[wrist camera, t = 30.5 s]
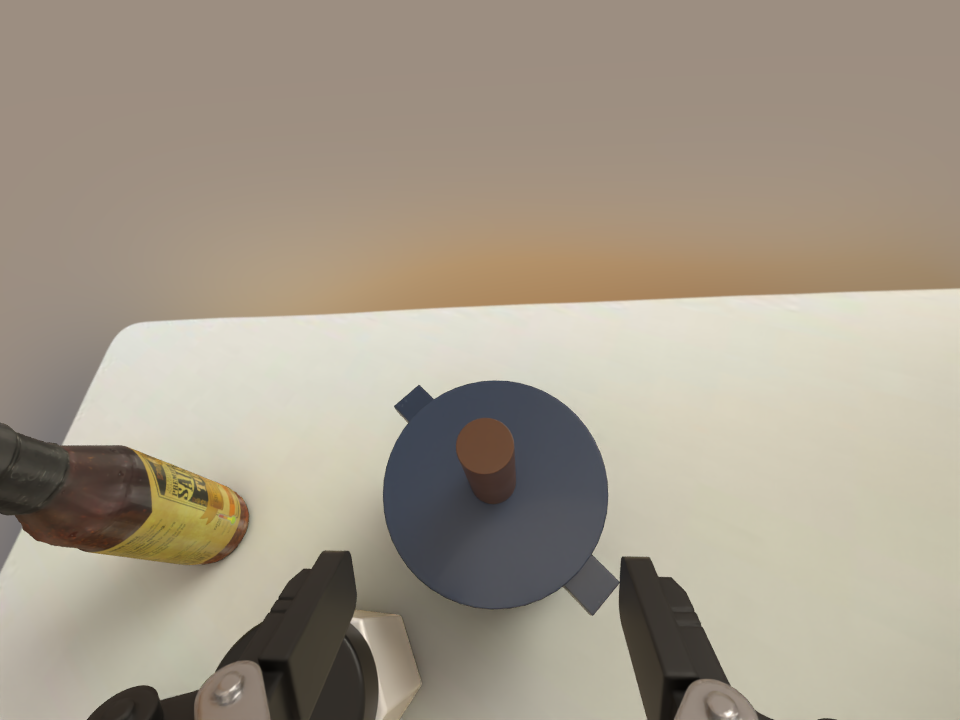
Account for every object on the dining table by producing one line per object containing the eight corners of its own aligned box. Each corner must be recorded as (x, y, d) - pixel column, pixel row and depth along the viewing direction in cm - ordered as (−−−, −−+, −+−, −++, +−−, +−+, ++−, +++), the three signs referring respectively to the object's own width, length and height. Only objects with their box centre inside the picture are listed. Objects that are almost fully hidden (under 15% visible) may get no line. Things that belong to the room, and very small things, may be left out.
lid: (494, 352, 33) (487, 283, 26) (651, 485, 27) (697, 443, 20) (345, 485, 29) (288, 446, 22) (493, 670, 24) (480, 700, 16)
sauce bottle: (268, 508, 38) (51, 428, 20) (217, 582, 35) (-79, 561, 18) (213, 475, 40) (-29, 375, 22) (161, 542, 37) (-156, 489, 20)
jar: (283, 738, 30) (155, 811, 20) (316, 602, 34) (225, 602, 23) (412, 760, 29) (349, 849, 18) (431, 616, 33) (388, 622, 22)
